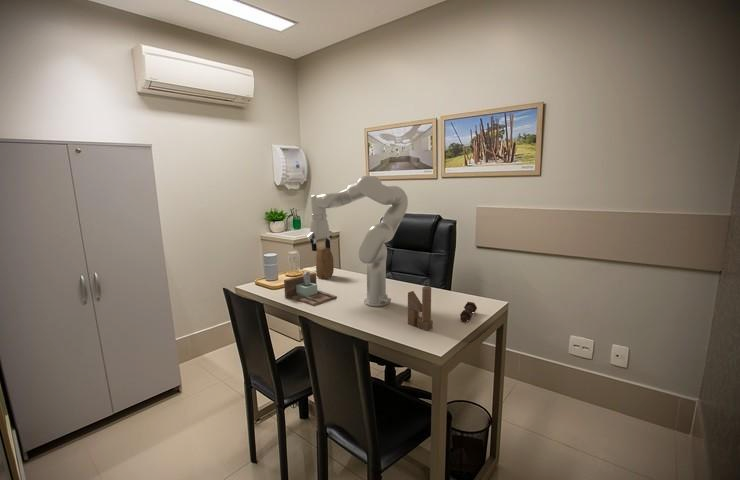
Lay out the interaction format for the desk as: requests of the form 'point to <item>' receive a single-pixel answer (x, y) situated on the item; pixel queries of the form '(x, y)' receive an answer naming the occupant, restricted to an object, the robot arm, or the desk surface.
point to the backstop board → (311, 300)
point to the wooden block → (420, 309)
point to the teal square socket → (307, 289)
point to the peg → (306, 279)
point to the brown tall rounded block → (324, 263)
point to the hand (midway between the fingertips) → (321, 249)
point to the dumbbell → (468, 311)
